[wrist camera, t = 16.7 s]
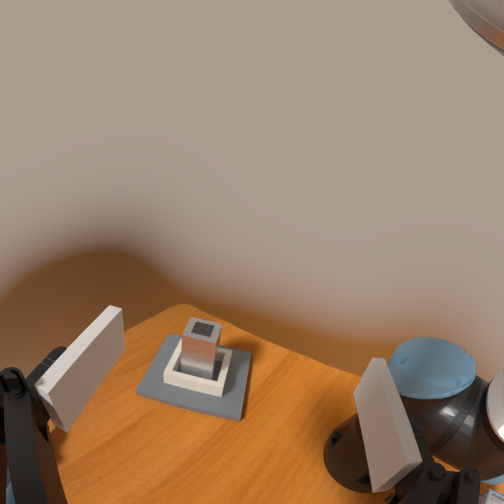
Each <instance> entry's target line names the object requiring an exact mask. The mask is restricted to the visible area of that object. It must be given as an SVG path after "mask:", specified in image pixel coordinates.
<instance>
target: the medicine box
mask: <svg viewBox="0 0 504 504" xmlns="http://www.w3.org/2000/svg"><path fill="white" fill-rule="evenodd" d="M478 504H504V495H503V494H501V493H498V492H496V491H494V490H492V489H488V490H487V491H486V492H485V493H483V494H482V495H481V496H479V502H478Z"/></svg>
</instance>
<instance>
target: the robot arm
mask: <svg viewBox="0 0 504 504" xmlns="http://www.w3.org/2000/svg"><path fill="white" fill-rule="evenodd" d="M449 1H450V3H451V4H452V6H453V7H454V9H455V10H456V11H457V12H458V13H459V14H460V16H461V17H462V18H463V19H464V20H465V22H466V23H467V24H468V25H469V27H470V28H472V29H473V30H474V31H475V32H476V33H477V34H478V35H479V36H480V37H481V38H482V39H483V40H485V41H486V42H487V43H488V44H489V45H490V46H491V47H493V48H494V49H495V50H497V51H498V52H499V53H501V54H502V55H503V56H504V0H449ZM125 349H126V348H125V339H124V329H123V317H122V309H120V308H117V307H114V306H109V307H108V308H107V309H106V310H105V311H104V312H103V313H102V314H101V315H100V316H99V317H98V318H97V319H96V320H95V321H94V322H93V323H92V324H91V325H90V326H89V327H88V328H87V329H86V330H85V331H84V332H83V333H82V334H81V335H80V336H79V337H78V338H77V339H76V340H75V341H74V342H73V343H72V344H71V345H70V346H69V348H66V347H63V346H60V347H58V348H56V349H54V350H53V351H52V352H51V353H50V354H49V355H48V356H47V358H45V359H44V360H43V361H42V363H40V364H39V365H38V366H37V367H36V368H35V369H34V370H33V371H32V373H31V374H30V375H29V376H28V377H27V378H26V379H25V378H24V376H23V374H22V372H21V371H20V370H19V369H17V368H14V367H9V368H5V369H4V370H2V371H1V372H0V504H6V484H7V469H8V468H9V475H10V481H11V486H12V491H13V496H14V500H15V504H68V503H67V500H66V497H65V494H64V490H63V487H62V484H61V480H60V477H59V473H58V469H57V465H56V461H55V457H54V452H53V447H52V442H51V437H50V431H49V426H48V423H47V422H48V421H49V419H50V418H51V420H52V422H53V424H54V425H55V426H56V427H58V428H60V429H62V430H63V431H65V432H67V433H68V431H69V430H70V428H71V427H72V425H73V424H74V422H75V421H76V419H77V418H78V416H79V415H80V413H81V412H82V410H83V409H84V407H85V406H86V404H87V403H88V401H89V400H90V398H91V397H92V396H93V394H94V393H95V391H96V390H97V388H98V387H99V385H100V384H101V383H102V381H103V380H104V378H105V377H106V375H107V374H108V373H109V371H110V370H111V368H112V367H113V366H114V364H115V363H116V361H117V360H118V359H119V357H120V356H121V355H122V353H123V352H124V350H125ZM476 369H477V368H476V363H475V361H474V359H473V357H472V356H471V355H470V354H466V350H465V349H463V348H462V347H460V346H458V345H456V344H454V343H452V342H449V341H446V340H443V339H440V338H434V337H417V338H413V339H409V340H407V341H405V342H403V343H402V344H401V345H400V346H398V347H397V349H396V350H395V351H394V353H393V355H392V356H391V358H390V360H389V361H388V363H386V361H385V359H382V358H372V359H371V361H370V363H369V365H368V367H367V369H366V371H365V373H364V375H363V376H362V378H361V380H360V382H359V384H358V386H357V387H356V389H355V391H354V393H353V395H354V399H355V403H356V408H357V412H358V413H356V414H355V415H353V416H352V417H350V418H349V419H347V420H346V421H344V422H343V423H341V424H340V425H339V426H338V427H337V428H336V429H335V430H334V431H333V432H332V434H331V435H330V437H329V438H328V440H327V441H326V444H325V447H324V462H325V465H326V468H327V470H328V472H329V473H330V475H331V476H332V477H333V478H334V479H335V480H336V481H337V482H338V483H339V484H341V485H342V486H344V487H346V488H348V489H350V490H353V491H357V492H364V493H370V492H373V493H377V492H384V491H388V490H390V489H391V488H392V487H393V486H395V489H396V491H395V492H394V493H392V494H391V495H390V496H388V497H387V498H386V499H385V500H384V501H385V502H386V501H387V500H388V499H389V500H388V502H387V503H386V504H478V502H479V491H480V482H483V483H486V484H489V485H497V484H501V483H503V482H504V369H503V370H501V371H499V372H498V373H497V374H496V375H495V377H494V378H493V379H492V380H491V382H490V383H488V382H487V381H485V380H483V379H481V378H480V377H478V376H476ZM432 455H433V456H434V457H436V458H438V459H440V460H441V461H443V462H445V463H447V464H448V465H450V466H452V467H454V468H456V469H457V470H459V471H460V472H453V471H446V470H445V468H444V467H443V466H442V465H441V464H439V463H435V462H434V460H433V457H432Z"/></svg>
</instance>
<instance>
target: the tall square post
mask: <svg viewBox="0 0 504 504" xmlns="http://www.w3.org/2000/svg"><path fill="white" fill-rule="evenodd" d="M221 330H222V324H221V323H216V322H211V321H207V320H202V319H198V318H193V317H191V318H190V320H189V322H188V324H187V326H186V328H185V330H184V332H183V334H182V346H181V373H184V374H188V375H192V376H196V377H200V378H204V379H208V380H212V379H213V376H214V373H215V369H216V366H217V359H218V352H219V345H220V337H221Z"/></svg>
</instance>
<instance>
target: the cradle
mask: <svg viewBox="0 0 504 504" xmlns="http://www.w3.org/2000/svg"><path fill="white" fill-rule="evenodd" d="M181 346H182V336H178V335H174V334H170V333H169V334H168V336H167V338H166V339H165V341H164V343H163V344H162V346H161V348H160V350H159V351H158V353H157V355H156V356H155V358H154V360H153V362H152V363H151V365H150V367H149V369H148V370H147V372H146V374H145V376H144V377H143V379H142V381H141V383H140V384H139V386H138V388H137V390H136V393H137V394H138V395H141V396H144V397H147V398H150V399H153V400H157V401H160V402H163V403H166V404H170V405H173V406H177V407H180V408H184V409H188V410H192V411H196V412H200V413H204V414H208V415H213V416H217V417H222V418H227V419H232V420H237V421H240V419H241V413H242V407H243V401H244V395H245V389H246V383H247V377H248V371H249V364H250V358H251V352H250V351H245V350H240V349H235V348H230V347H225V346H220V345H219V352H218V359H217V366H216V369H215V373H214V376H213V379H212V380H208V379H204V378H200V377H196V376H192V375H188V374H184V373H181Z"/></svg>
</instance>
